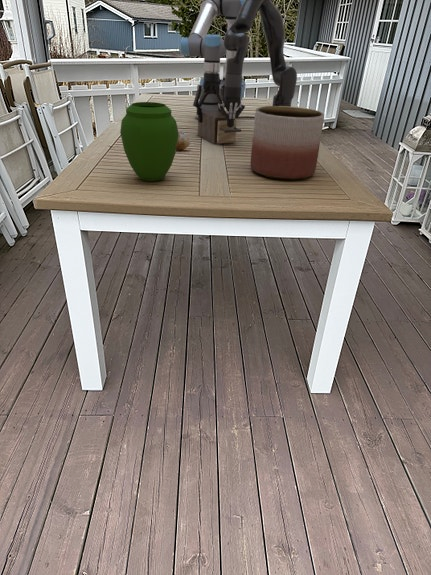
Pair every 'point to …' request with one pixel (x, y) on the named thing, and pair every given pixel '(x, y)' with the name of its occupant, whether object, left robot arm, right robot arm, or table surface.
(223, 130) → the drawer
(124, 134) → the vase
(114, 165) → the table surface
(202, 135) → the small wooden cabinet
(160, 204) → the table surface
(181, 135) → the seashell
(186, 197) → the table surface
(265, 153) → the planter
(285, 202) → the table surface
